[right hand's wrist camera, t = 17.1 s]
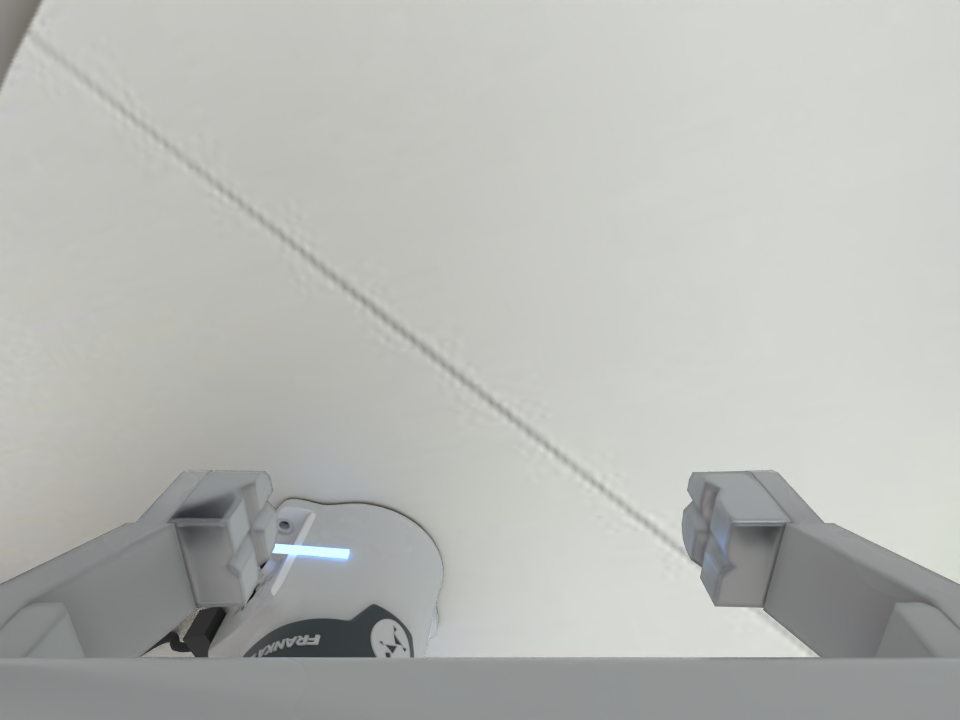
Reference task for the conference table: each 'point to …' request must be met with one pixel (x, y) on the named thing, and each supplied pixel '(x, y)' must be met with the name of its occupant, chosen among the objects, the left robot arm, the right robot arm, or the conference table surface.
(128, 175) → the conference table surface
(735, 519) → the right robot arm
